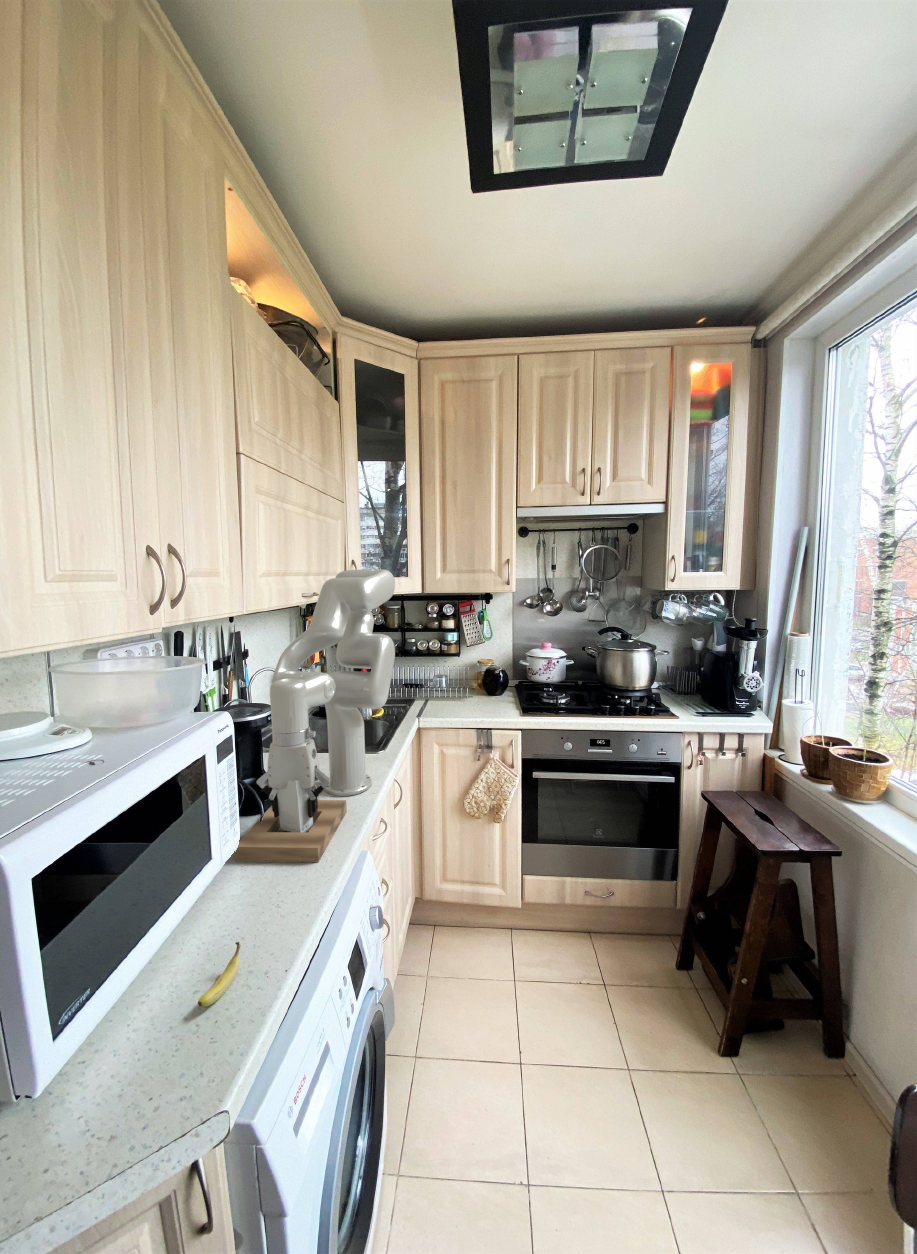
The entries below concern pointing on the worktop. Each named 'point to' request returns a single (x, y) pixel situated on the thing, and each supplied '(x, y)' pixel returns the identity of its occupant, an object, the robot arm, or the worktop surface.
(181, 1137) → the worktop surface
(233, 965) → the banana
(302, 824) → the skincare box
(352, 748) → the robot arm
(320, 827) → the socket block
